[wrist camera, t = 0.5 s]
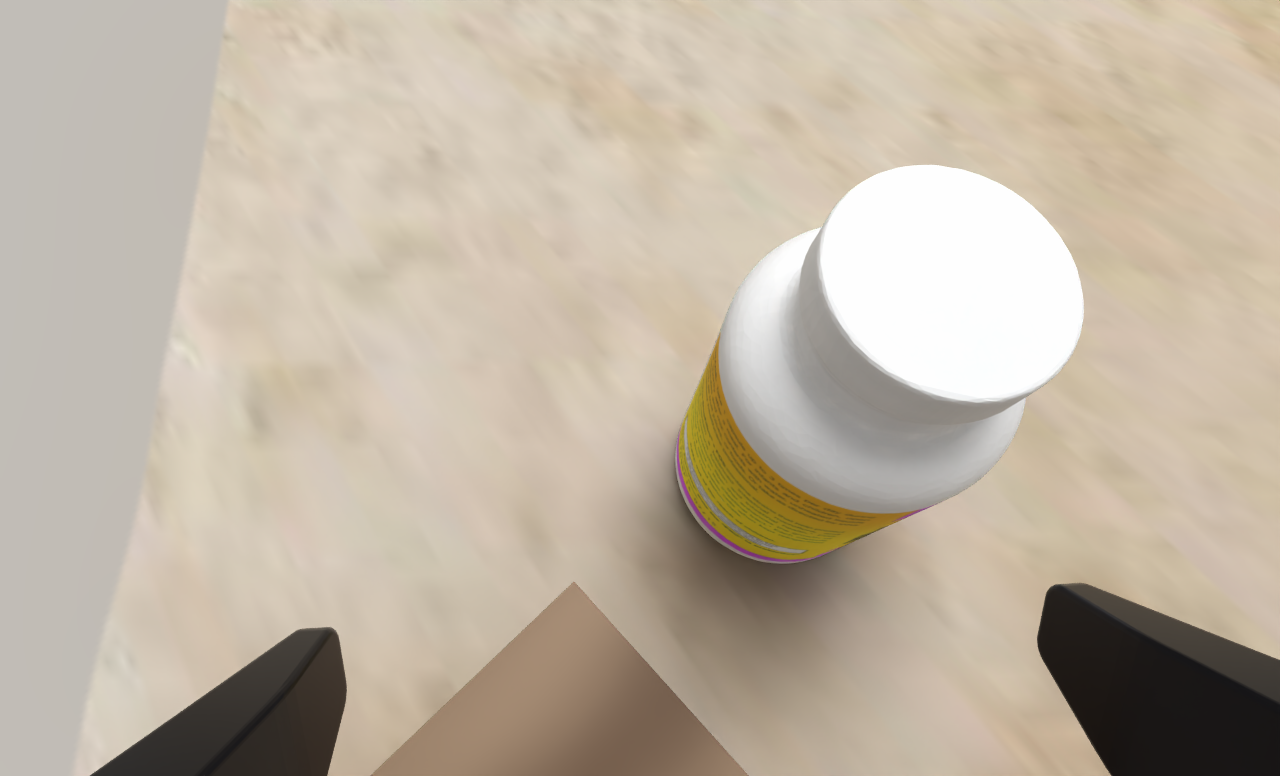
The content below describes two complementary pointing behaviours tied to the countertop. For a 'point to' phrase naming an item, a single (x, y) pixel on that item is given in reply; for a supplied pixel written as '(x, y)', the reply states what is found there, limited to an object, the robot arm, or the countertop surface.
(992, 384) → the supplement bottle
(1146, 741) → the robot arm
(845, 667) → the countertop surface
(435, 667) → the countertop surface
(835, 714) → the countertop surface
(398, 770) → the walnut stand
